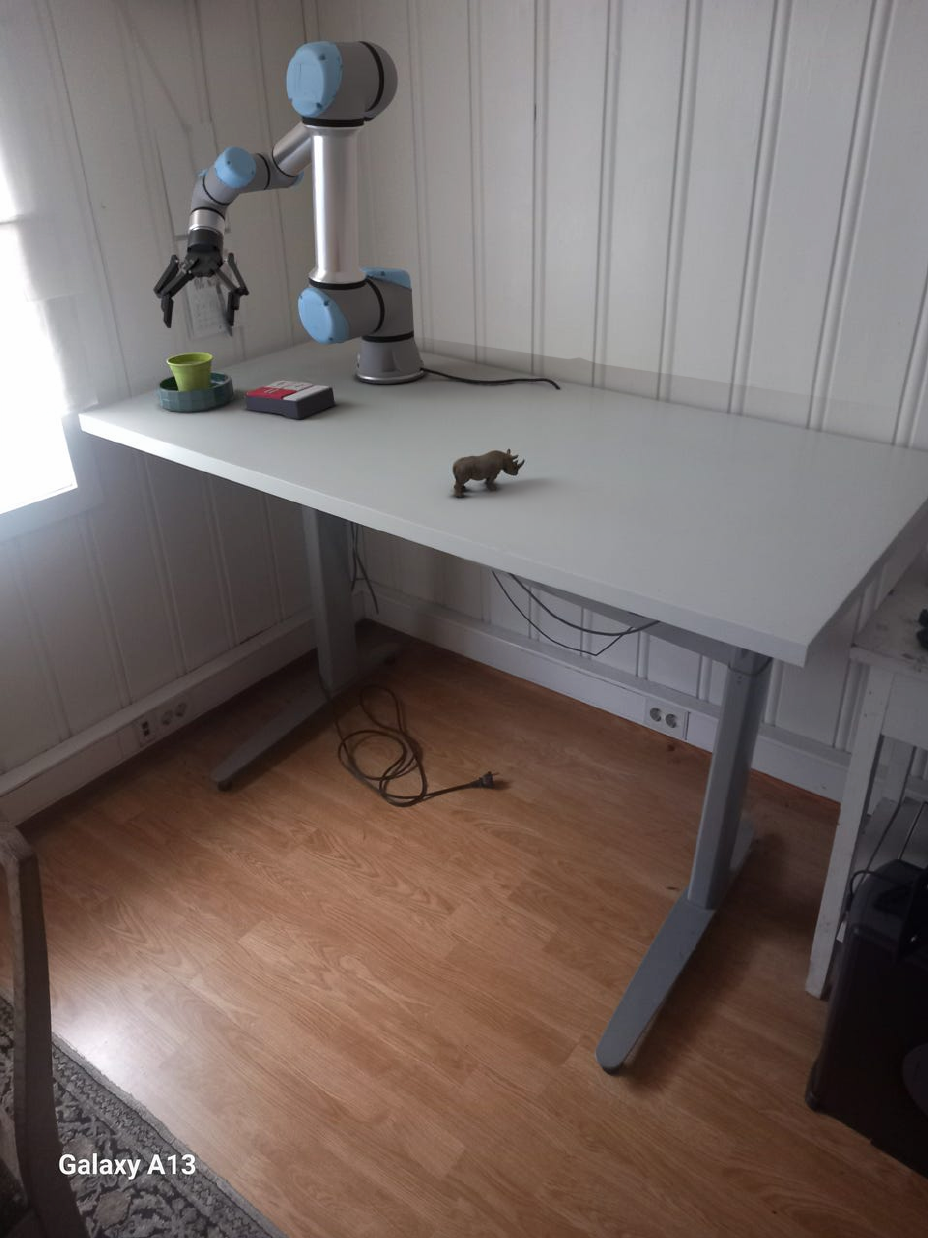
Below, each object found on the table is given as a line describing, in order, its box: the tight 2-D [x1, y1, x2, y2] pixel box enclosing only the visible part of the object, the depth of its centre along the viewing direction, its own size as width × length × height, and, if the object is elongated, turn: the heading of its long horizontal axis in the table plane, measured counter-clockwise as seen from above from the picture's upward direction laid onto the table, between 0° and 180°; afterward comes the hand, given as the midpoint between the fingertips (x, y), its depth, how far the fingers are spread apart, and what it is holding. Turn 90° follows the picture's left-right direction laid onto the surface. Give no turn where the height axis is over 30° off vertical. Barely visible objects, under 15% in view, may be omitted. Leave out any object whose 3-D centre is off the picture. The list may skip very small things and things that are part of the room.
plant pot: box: [166, 352, 214, 391], centre depth 203 cm, size 9×9×9 cm
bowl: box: [155, 370, 235, 413], centre depth 204 cm, size 15×15×4 cm
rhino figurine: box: [451, 448, 526, 498], centre depth 155 cm, size 4×14×6 cm, turn 119°
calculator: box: [244, 380, 336, 420], centre depth 198 cm, size 11×4×15 cm
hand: (198, 323), depth 205 cm, fingers open, 13 cm apart
